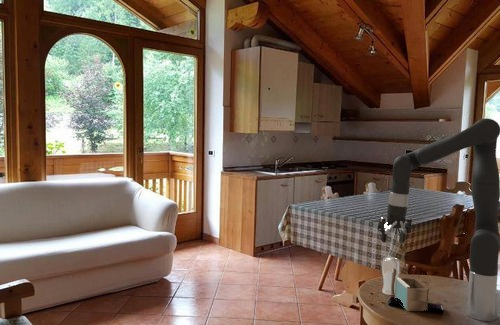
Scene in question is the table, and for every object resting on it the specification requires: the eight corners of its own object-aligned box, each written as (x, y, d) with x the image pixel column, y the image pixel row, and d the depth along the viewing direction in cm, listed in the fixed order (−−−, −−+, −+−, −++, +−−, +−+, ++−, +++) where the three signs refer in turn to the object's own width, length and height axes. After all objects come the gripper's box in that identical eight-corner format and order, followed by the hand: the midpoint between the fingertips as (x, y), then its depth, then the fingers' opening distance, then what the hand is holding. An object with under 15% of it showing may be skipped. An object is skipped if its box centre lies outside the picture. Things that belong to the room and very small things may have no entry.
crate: (413, 299, 173) (414, 278, 172) (427, 311, 161) (428, 289, 160) (394, 299, 172) (395, 278, 171) (407, 311, 160) (408, 289, 160)
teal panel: (398, 299, 171) (399, 277, 170) (408, 309, 161) (410, 286, 161) (395, 299, 171) (396, 277, 170) (405, 309, 161) (407, 286, 160)
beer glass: (395, 297, 174) (396, 262, 172) (378, 293, 178) (380, 259, 177) (400, 292, 179) (401, 259, 178) (384, 288, 183) (385, 255, 182)
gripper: (388, 205, 163) (383, 245, 164) (418, 206, 167) (413, 245, 169) (377, 201, 170) (372, 239, 172) (406, 202, 174) (401, 239, 176)
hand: (392, 242), depth 170 cm, fingers open, 8 cm apart
